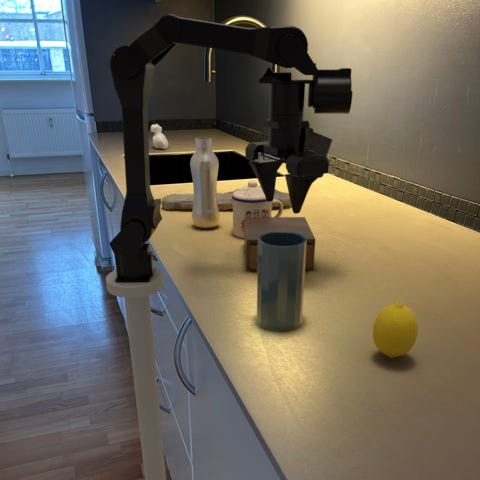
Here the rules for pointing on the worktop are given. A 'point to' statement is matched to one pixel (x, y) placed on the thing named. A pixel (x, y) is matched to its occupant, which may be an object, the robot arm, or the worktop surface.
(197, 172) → the plastic bottle
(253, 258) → the drawer
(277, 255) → the tumbler
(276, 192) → the elongated rock
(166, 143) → the bust
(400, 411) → the worktop surface
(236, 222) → the teacup with lid
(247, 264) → the cabinet
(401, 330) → the lemon
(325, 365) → the worktop surface
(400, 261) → the worktop surface
